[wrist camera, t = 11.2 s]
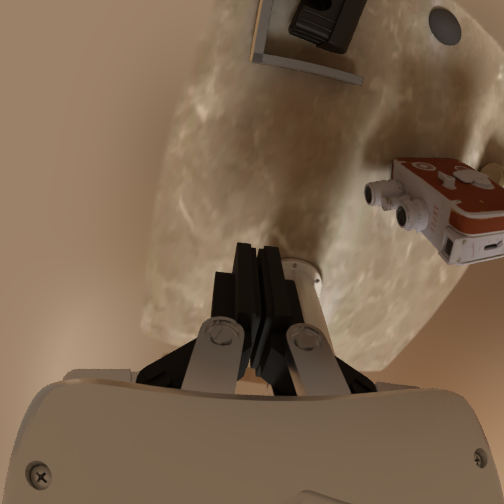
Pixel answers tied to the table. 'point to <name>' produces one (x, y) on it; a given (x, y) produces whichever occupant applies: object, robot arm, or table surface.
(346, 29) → the end cap
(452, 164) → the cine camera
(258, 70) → the table surface
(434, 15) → the lens cap
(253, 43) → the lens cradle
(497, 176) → the ceramic mug
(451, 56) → the table surface
